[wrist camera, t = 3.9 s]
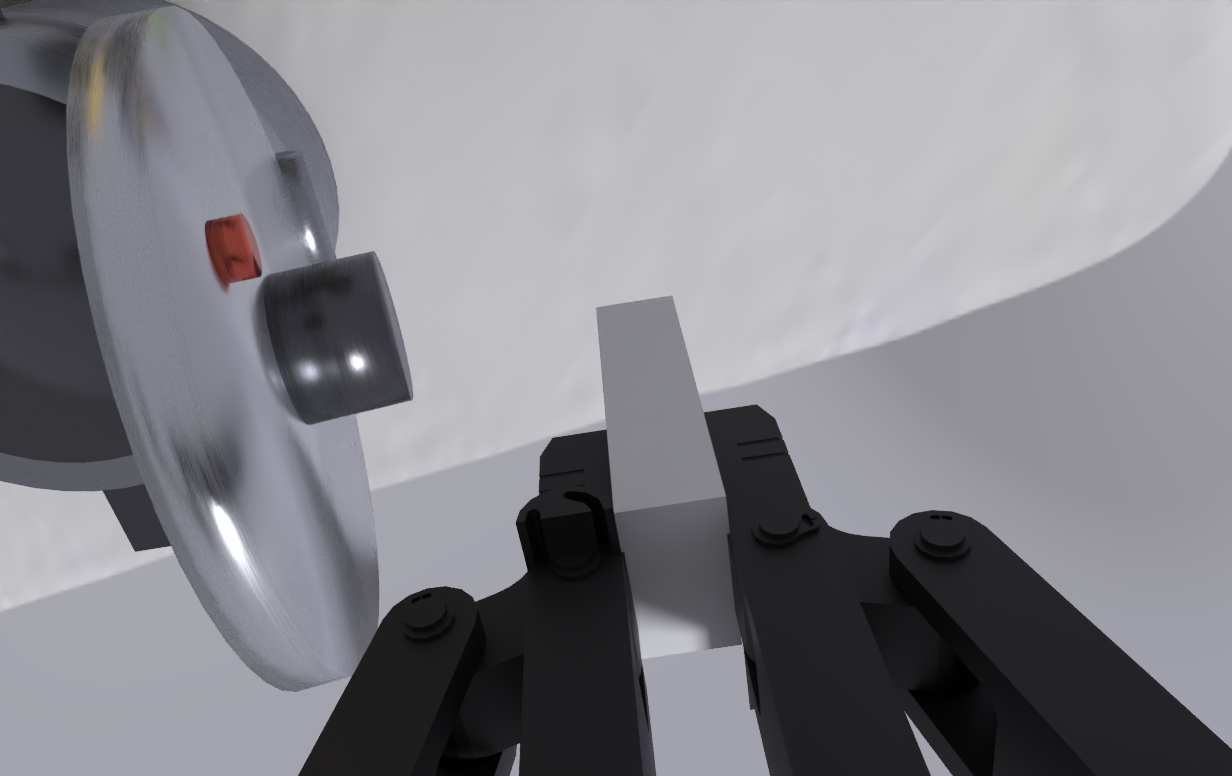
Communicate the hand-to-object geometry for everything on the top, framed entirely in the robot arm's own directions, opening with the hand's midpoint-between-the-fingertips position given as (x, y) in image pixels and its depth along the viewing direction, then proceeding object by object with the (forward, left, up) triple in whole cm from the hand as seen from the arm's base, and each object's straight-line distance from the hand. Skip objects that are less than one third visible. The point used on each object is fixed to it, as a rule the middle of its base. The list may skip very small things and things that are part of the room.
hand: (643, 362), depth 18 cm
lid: (-9, 0, -3) cm, 10 cm away
